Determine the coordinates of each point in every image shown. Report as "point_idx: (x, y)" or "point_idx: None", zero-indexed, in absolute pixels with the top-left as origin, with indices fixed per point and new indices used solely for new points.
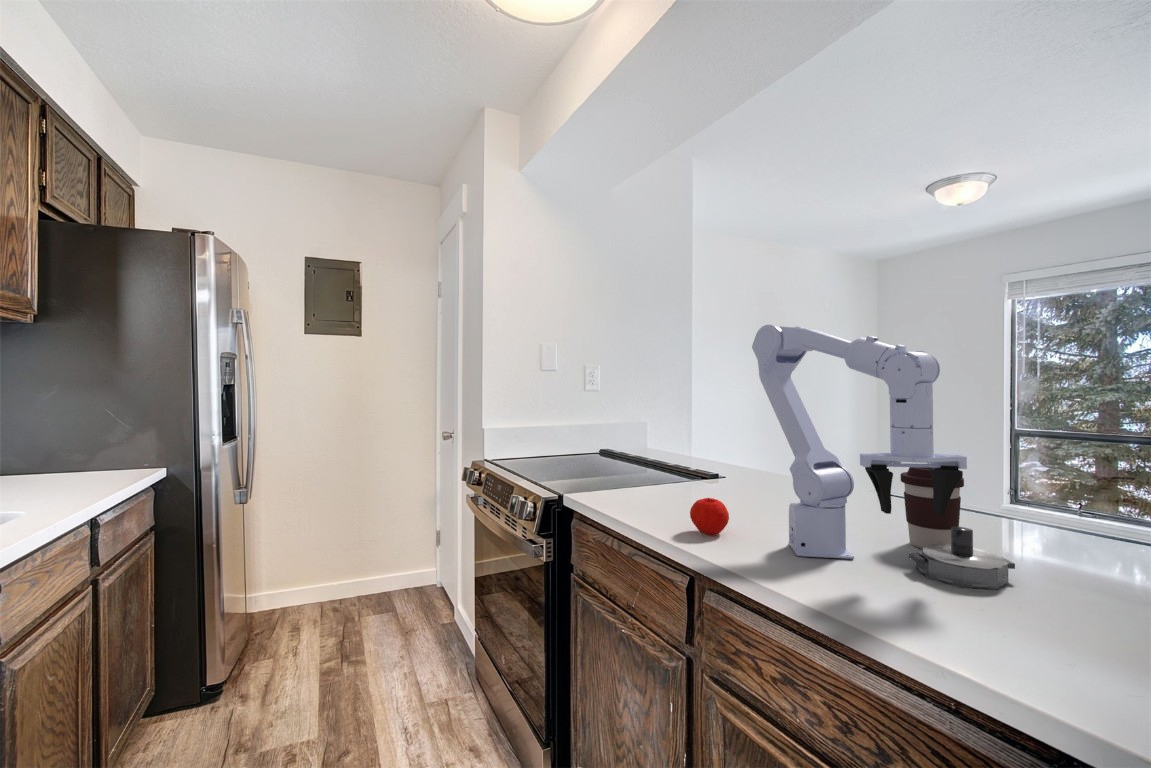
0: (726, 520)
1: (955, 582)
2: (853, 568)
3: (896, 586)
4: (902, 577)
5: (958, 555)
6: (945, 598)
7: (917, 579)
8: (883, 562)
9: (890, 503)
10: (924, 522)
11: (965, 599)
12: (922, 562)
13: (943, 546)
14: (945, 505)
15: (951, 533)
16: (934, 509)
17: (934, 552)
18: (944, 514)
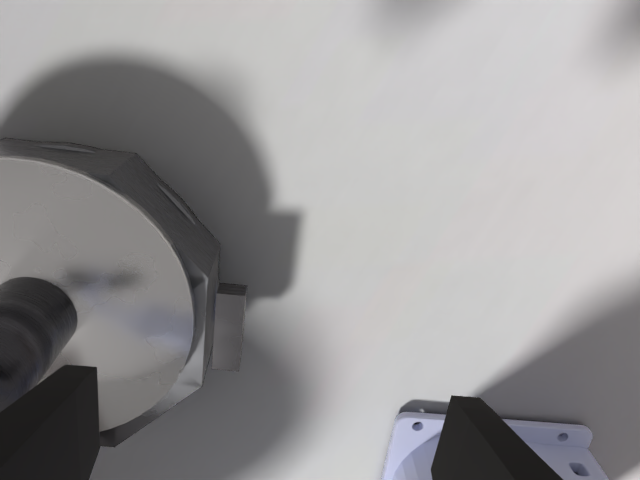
0: None
1: (151, 176)
2: (450, 330)
3: (396, 155)
4: (316, 250)
5: (62, 291)
6: (272, 32)
7: (269, 233)
8: (301, 393)
9: (496, 442)
10: None
11: (195, 24)
12: (227, 286)
13: None
14: (24, 406)
15: (31, 384)
16: (90, 462)
17: (153, 328)
18: (63, 369)
